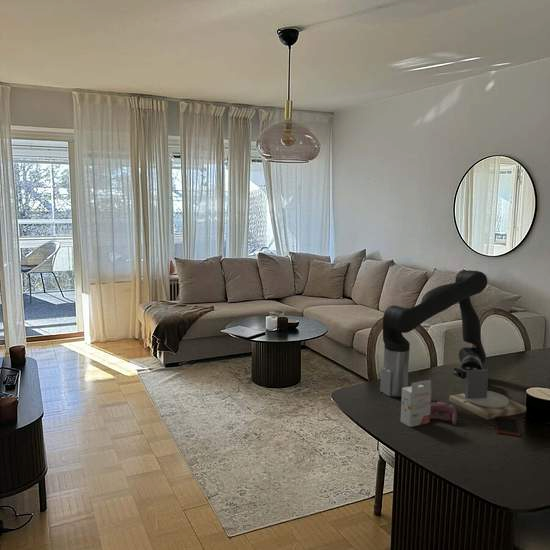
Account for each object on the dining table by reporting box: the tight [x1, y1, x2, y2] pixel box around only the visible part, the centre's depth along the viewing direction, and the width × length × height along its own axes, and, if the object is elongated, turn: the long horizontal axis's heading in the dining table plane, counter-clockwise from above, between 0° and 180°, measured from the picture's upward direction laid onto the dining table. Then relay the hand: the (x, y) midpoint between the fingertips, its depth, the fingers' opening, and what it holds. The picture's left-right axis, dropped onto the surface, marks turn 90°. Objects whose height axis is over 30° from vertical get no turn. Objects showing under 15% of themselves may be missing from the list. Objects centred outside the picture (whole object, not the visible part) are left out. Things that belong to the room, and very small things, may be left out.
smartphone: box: [493, 416, 522, 438], centre depth 168 cm, size 7×1×15 cm
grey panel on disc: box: [464, 368, 510, 408], centre depth 183 cm, size 15×14×11 cm
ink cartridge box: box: [400, 379, 432, 428], centre depth 168 cm, size 9×5×15 cm, turn 116°
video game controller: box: [430, 401, 458, 426], centre depth 172 cm, size 10×5×7 cm, turn 70°
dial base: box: [448, 389, 527, 421], centre depth 184 cm, size 18×18×2 cm
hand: (470, 380), depth 185 cm, fingers closed
